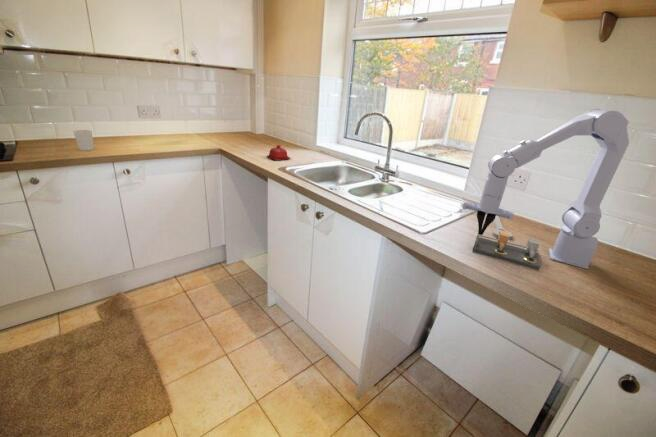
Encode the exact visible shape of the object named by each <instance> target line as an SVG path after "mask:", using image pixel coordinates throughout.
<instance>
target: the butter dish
mask: <svg viewBox="0 0 656 437" xmlns="http://www.w3.org/2000/svg"><path fill="white" fill-rule="evenodd" d="M266 157H267V158H269V159H272V160H274V161H286V160H290V159H291V157H289V155H288V152H287V150H286V149H284V148H283V147H282V145H280V144H276V146H275V147H271V148H270V150H269V153H268V155H266Z"/></svg>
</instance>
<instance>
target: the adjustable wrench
mask: <svg viewBox="0 0 656 437" xmlns="http://www.w3.org/2000/svg"><path fill="white" fill-rule="evenodd" d="M501 221H502V220H500V216H496V217H495V219H494V221H493V222H492V223H493V225H494V227H495V228H494V229H493V230H492V233H491V235H492V236H493V237H494V238H495V239H498V237H499V234H500V231H501V230H502V231H506V232H509V238H508V241H510V240H511V239H512V237H513V232H511V231H509V230H507V229H505V228H504V226H503V224H502V222H501Z"/></svg>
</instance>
